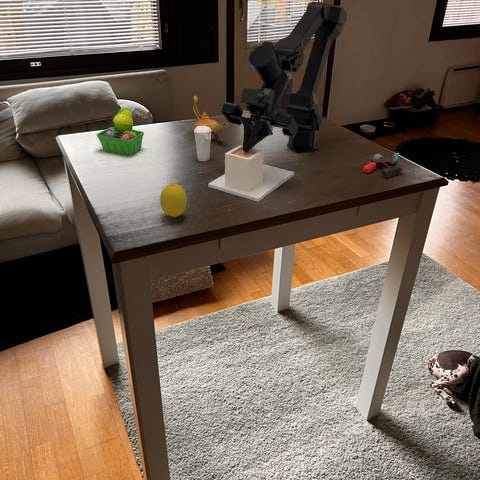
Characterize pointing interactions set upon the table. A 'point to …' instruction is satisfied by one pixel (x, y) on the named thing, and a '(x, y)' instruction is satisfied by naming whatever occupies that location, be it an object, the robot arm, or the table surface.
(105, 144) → the fruit basket
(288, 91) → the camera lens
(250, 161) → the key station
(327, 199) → the table surface
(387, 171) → the toy gun
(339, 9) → the robot arm
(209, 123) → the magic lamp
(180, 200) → the lemon
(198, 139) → the takeaway coffee cup
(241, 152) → the salmon pink square block
